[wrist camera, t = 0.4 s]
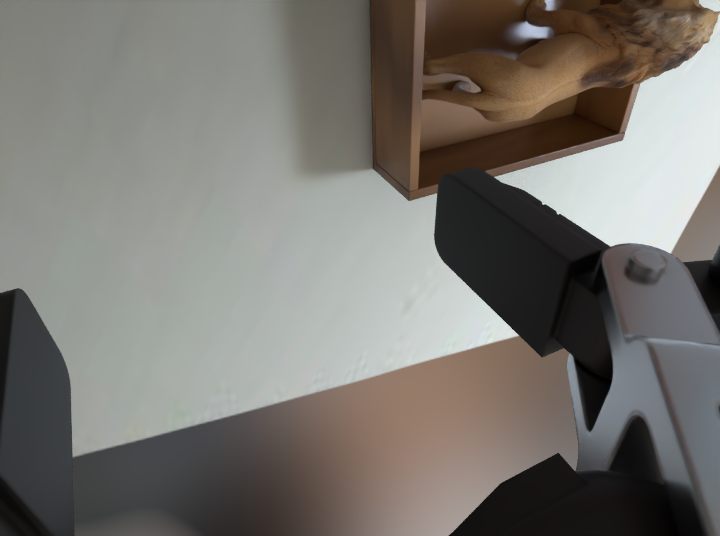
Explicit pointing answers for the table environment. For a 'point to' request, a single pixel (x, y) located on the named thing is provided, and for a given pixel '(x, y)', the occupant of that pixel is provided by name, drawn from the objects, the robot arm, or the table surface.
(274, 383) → the table surface
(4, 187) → the table surface
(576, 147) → the brown wooden shallow box
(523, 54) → the lion figurine
